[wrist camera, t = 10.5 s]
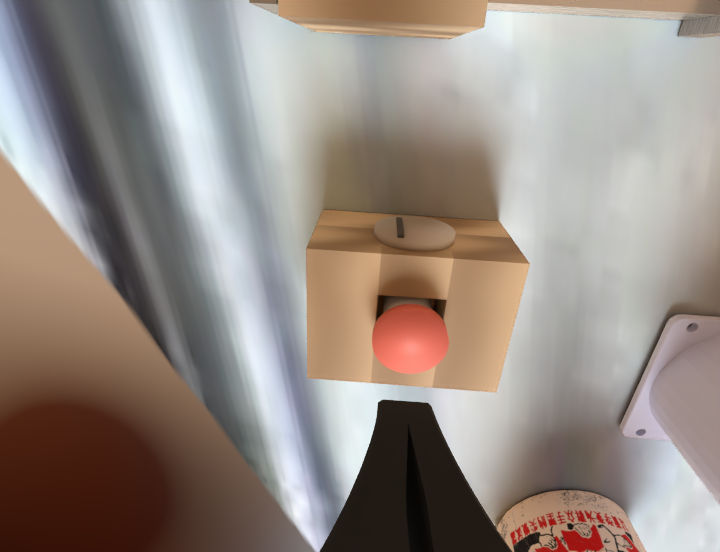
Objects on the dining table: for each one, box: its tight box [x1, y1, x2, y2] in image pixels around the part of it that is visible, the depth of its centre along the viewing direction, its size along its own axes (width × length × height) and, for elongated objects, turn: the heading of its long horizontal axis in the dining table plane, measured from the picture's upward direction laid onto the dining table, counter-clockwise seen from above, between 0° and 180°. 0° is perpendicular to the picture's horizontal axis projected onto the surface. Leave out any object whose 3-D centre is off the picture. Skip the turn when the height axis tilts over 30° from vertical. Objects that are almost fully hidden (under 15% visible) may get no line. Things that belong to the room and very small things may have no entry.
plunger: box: [372, 295, 449, 374], centre depth 17 cm, size 3×3×4 cm
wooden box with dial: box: [306, 210, 530, 392], centre depth 18 cm, size 8×6×4 cm
